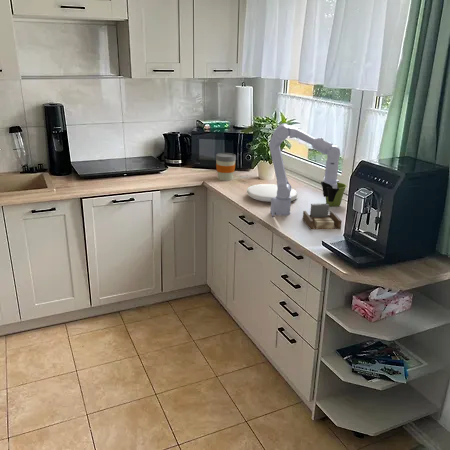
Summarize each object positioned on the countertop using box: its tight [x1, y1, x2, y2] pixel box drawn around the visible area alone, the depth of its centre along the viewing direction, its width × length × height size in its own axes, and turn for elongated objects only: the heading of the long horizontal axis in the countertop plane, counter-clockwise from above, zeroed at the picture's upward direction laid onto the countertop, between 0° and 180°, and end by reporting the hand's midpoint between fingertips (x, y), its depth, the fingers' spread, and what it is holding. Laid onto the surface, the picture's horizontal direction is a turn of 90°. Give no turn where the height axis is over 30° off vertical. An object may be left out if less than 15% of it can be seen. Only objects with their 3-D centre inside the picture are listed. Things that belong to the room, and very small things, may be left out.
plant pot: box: [325, 181, 348, 208], centre depth 244 cm, size 12×12×11 cm
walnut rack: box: [302, 210, 342, 230], centre depth 216 cm, size 14×14×5 cm
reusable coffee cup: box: [215, 152, 237, 181], centre depth 289 cm, size 13×13×15 cm
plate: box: [246, 183, 298, 203], centre depth 255 cm, size 28×6×27 cm
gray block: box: [309, 203, 330, 217], centre depth 220 cm, size 8×2×8 cm, turn 95°
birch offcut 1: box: [313, 218, 332, 226], centre depth 214 cm, size 8×2×3 cm, turn 95°
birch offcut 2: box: [315, 221, 334, 230], centre depth 212 cm, size 8×2×3 cm, turn 95°
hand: (328, 198), depth 222 cm, fingers open, 7 cm apart
